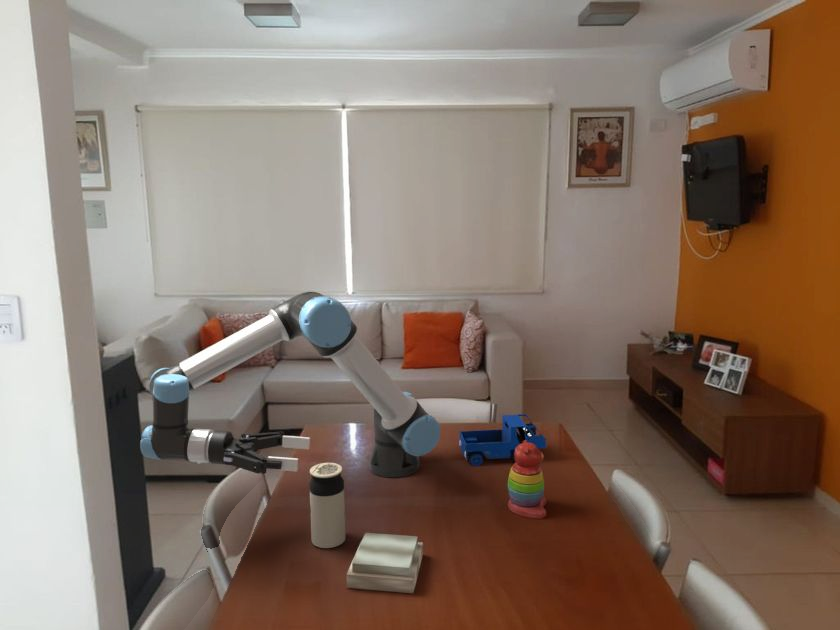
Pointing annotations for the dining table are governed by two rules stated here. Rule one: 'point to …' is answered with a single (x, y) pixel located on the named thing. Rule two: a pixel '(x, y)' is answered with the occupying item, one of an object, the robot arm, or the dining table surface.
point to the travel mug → (327, 505)
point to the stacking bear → (527, 482)
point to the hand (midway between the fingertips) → (304, 453)
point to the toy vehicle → (499, 440)
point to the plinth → (385, 578)
